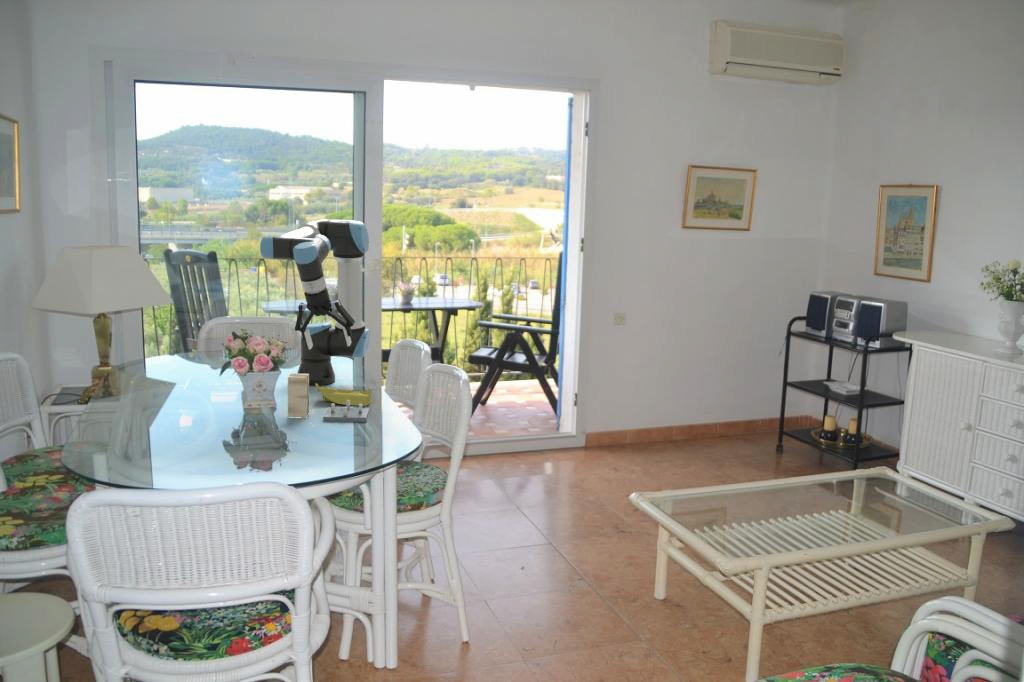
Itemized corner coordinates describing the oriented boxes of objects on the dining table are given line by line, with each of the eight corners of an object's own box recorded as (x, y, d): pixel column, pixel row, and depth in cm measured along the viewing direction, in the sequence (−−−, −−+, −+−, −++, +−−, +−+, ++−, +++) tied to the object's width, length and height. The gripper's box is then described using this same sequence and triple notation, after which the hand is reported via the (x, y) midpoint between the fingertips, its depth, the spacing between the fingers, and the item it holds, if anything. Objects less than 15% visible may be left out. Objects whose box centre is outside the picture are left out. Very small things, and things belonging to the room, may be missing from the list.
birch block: (290, 413, 278) (290, 373, 276) (308, 413, 279) (309, 373, 276) (287, 418, 272) (287, 377, 270) (306, 418, 273) (306, 377, 270)
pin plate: (327, 411, 282) (327, 399, 282) (368, 412, 284) (368, 399, 283) (323, 421, 271) (323, 408, 270) (366, 422, 272) (366, 409, 271)
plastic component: (369, 391, 304) (371, 386, 294) (368, 411, 302) (370, 406, 292) (314, 388, 299) (315, 382, 290) (313, 407, 297) (313, 402, 288)
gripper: (275, 297, 265) (291, 354, 275) (349, 290, 262) (363, 348, 272) (282, 287, 271) (298, 343, 281) (354, 281, 268) (368, 337, 278)
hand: (330, 346), depth 276 cm, fingers open, 13 cm apart
